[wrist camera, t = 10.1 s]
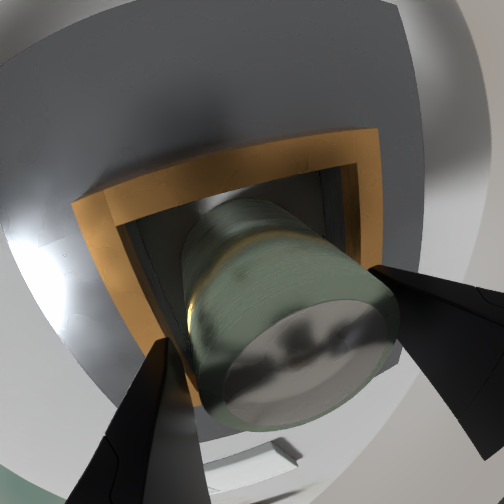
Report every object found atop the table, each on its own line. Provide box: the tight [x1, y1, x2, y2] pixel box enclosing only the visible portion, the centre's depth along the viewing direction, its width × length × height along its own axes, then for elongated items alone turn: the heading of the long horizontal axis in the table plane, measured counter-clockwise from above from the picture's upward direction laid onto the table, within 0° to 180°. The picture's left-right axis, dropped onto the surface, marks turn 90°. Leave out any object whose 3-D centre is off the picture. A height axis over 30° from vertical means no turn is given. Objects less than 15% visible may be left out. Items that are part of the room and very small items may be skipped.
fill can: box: [181, 198, 400, 432], centre depth 8 cm, size 5×5×6 cm
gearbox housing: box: [0, 0, 424, 443], centre depth 10 cm, size 16×20×2 cm
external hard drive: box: [203, 441, 298, 495], centre depth 19 cm, size 2×8×12 cm
